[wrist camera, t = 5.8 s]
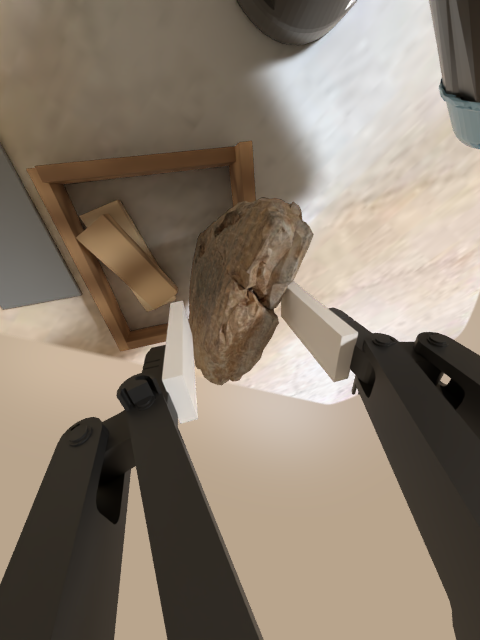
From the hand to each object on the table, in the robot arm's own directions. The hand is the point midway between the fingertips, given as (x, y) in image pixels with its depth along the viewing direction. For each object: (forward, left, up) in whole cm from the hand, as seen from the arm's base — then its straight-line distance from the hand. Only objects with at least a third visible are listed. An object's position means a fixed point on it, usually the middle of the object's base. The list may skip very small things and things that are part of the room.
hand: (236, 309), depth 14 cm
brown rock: (0, 0, -18) cm, 18 cm away
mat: (-6, -22, -18) cm, 29 cm away
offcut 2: (0, -9, -16) cm, 19 cm away
